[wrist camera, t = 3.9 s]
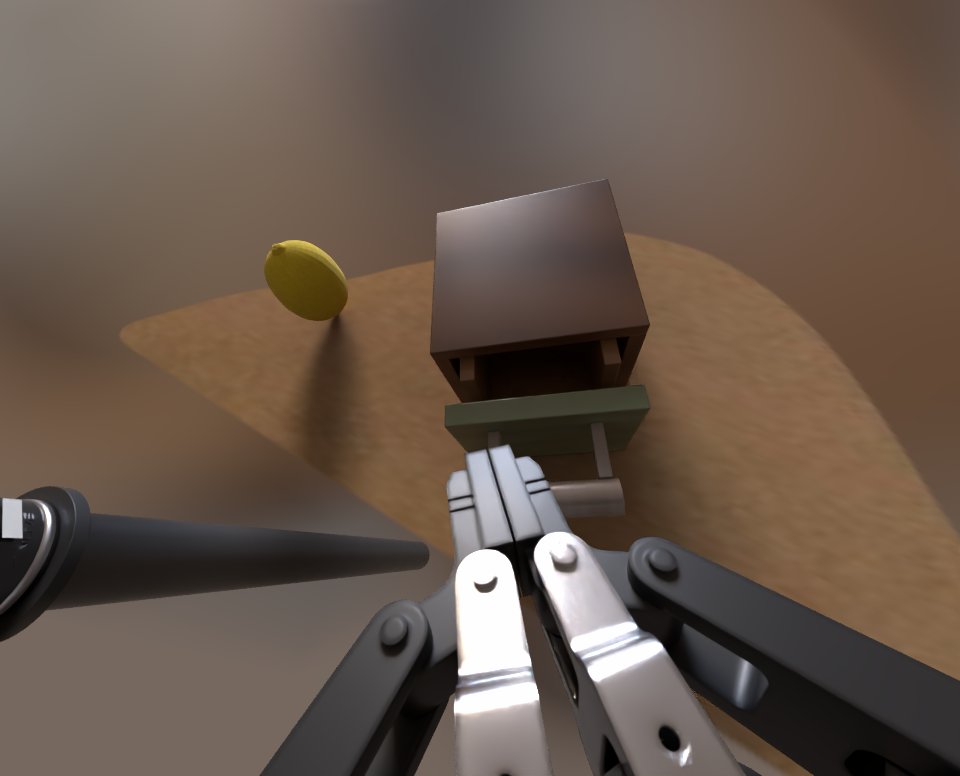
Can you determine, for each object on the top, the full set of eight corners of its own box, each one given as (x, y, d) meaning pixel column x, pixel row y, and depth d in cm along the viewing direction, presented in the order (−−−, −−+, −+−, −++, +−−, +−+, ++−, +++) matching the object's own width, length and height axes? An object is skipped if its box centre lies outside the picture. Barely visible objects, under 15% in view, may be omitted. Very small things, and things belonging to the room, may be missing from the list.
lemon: (331, 284, 34) (271, 215, 27) (374, 296, 32) (323, 224, 25) (299, 329, 33) (226, 267, 25) (343, 344, 31) (278, 281, 24)
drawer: (640, 523, 19) (677, 509, 13) (475, 529, 21) (441, 519, 15) (598, 322, 25) (610, 250, 19) (473, 339, 27) (448, 277, 21)
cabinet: (621, 399, 23) (650, 324, 16) (468, 414, 25) (429, 353, 18) (595, 280, 28) (608, 177, 20) (468, 299, 30) (436, 213, 22)
